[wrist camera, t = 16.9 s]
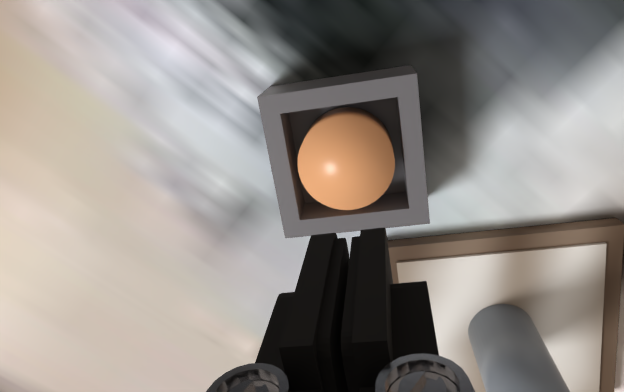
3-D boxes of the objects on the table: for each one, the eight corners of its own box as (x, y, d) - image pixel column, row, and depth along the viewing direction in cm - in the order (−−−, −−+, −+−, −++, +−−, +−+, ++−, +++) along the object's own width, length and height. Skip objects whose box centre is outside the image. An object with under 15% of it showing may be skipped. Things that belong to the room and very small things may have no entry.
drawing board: (616, 217, 29) (626, 226, 28) (606, 392, 34) (614, 405, 32) (377, 241, 31) (378, 250, 30) (398, 402, 36) (399, 415, 35)
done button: (387, 101, 26) (389, 110, 24) (396, 188, 28) (399, 204, 26) (296, 113, 27) (289, 124, 25) (310, 198, 29) (306, 214, 27)
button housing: (410, 65, 27) (416, 73, 24) (422, 199, 30) (429, 223, 27) (269, 86, 28) (257, 97, 25) (293, 213, 31) (285, 238, 28)
